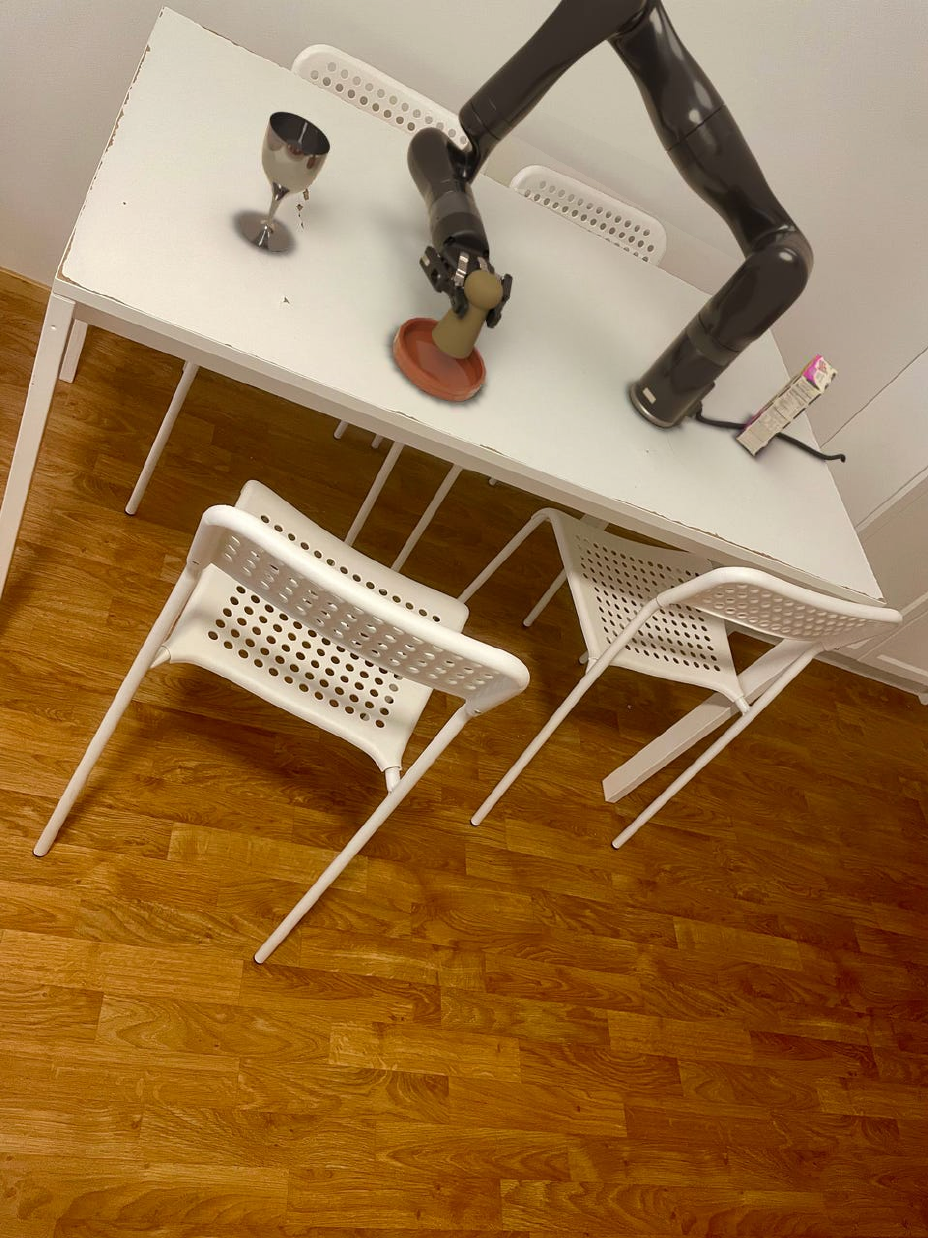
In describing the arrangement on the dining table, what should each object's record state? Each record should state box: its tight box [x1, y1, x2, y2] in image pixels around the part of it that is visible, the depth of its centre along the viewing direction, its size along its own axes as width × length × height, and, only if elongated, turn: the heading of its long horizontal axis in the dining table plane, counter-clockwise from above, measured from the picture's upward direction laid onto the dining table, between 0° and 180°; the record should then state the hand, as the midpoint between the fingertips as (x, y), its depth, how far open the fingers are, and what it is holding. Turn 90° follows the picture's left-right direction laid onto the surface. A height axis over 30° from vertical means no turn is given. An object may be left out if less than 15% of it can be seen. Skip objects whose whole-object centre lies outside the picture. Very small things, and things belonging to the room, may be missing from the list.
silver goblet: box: [238, 111, 331, 253], centre depth 112 cm, size 8×8×15 cm
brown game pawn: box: [432, 270, 503, 359], centre depth 114 cm, size 6×6×11 cm
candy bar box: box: [735, 353, 839, 457], centre depth 149 cm, size 11×5×16 cm, turn 144°
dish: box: [392, 316, 487, 402], centre depth 120 cm, size 14×14×2 cm
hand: (478, 318), depth 111 cm, fingers closed on brown game pawn, 4 cm apart
